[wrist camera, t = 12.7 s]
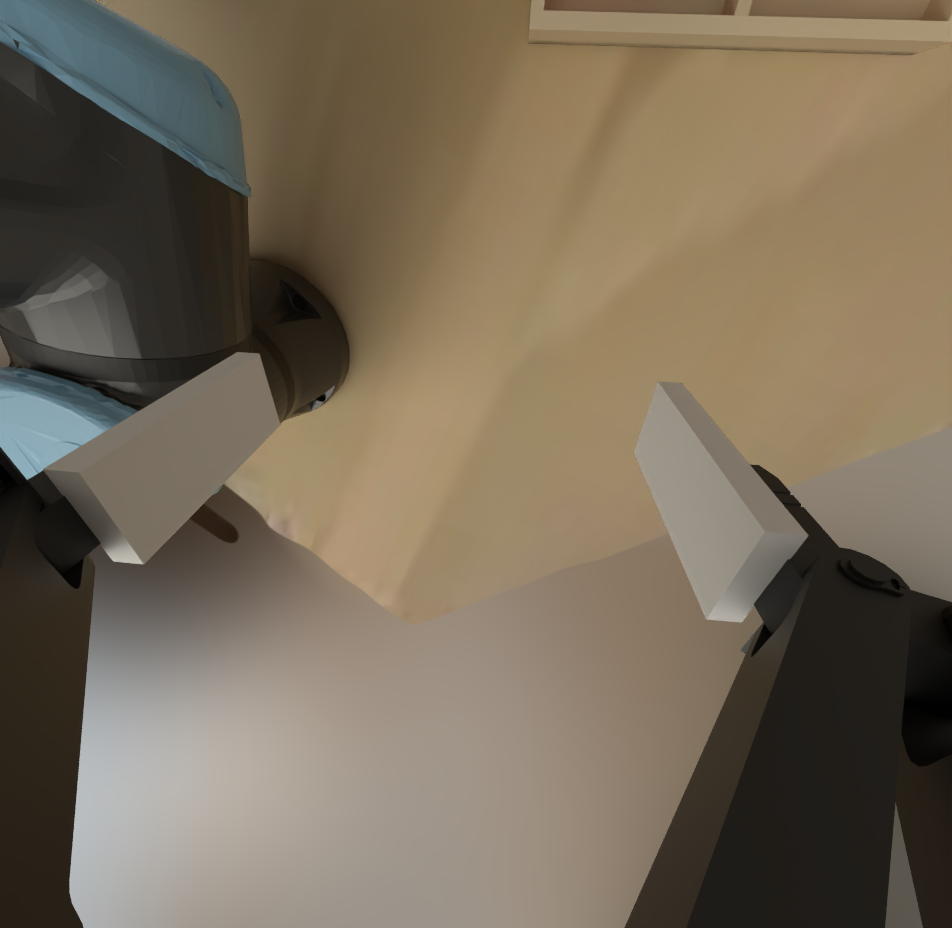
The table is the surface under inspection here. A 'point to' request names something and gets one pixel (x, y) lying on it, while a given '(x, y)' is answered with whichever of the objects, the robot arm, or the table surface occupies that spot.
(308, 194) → the table surface
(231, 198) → the robot arm
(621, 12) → the divided tray
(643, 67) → the table surface
